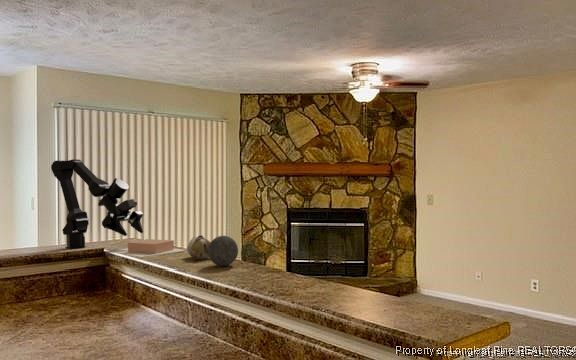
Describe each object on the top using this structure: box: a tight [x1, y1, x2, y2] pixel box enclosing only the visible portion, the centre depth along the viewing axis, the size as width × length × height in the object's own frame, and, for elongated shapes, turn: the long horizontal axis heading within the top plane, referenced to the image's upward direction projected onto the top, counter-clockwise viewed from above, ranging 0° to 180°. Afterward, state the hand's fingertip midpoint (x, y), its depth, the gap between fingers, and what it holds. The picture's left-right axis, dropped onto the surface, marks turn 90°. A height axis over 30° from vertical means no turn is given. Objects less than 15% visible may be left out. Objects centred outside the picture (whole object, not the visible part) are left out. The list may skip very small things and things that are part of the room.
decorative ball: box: [208, 235, 239, 267], centre depth 172 cm, size 10×10×10 cm
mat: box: [109, 247, 187, 258], centre depth 208 cm, size 20×26×1 cm
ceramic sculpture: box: [186, 235, 211, 260], centre depth 189 cm, size 11×9×15 cm
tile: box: [127, 238, 175, 254], centre depth 206 cm, size 4×11×14 cm
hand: (134, 233), depth 210 cm, fingers open, 9 cm apart
